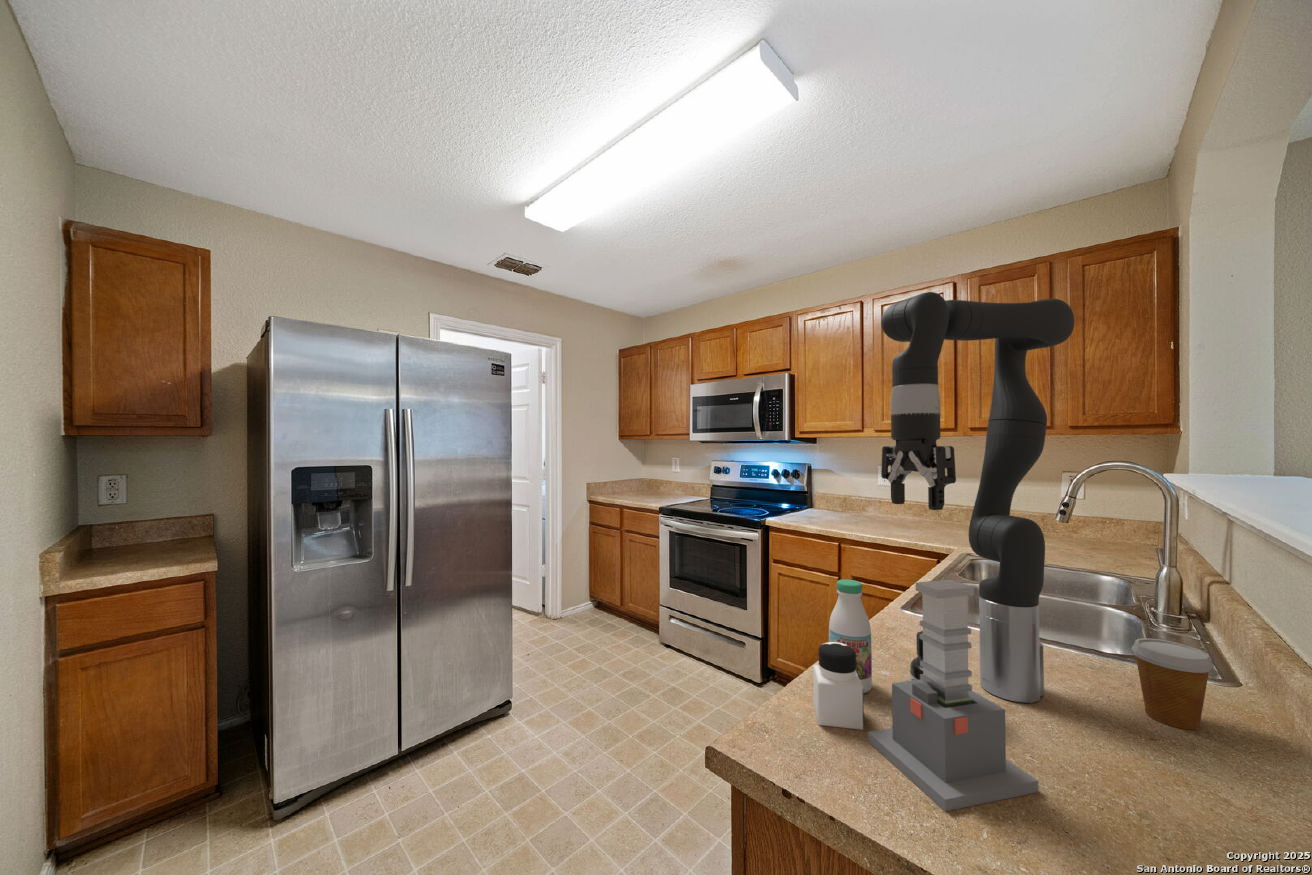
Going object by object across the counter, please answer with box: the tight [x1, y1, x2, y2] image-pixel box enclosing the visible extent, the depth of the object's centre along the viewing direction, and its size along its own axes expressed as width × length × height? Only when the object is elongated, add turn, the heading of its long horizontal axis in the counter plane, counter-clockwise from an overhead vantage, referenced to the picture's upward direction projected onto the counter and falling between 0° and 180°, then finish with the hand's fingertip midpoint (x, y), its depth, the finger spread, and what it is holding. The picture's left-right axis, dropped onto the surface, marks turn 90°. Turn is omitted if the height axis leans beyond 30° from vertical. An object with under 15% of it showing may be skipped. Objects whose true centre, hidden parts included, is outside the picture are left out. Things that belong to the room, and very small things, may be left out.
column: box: [915, 579, 975, 708], centre depth 71 cm, size 6×5×18 cm
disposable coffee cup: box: [1131, 637, 1214, 730], centre depth 82 cm, size 10×10×12 cm
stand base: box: [867, 679, 1039, 812], centre depth 71 cm, size 15×15×12 cm
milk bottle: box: [828, 578, 873, 694], centre depth 94 cm, size 8×8×20 cm
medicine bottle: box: [812, 641, 865, 731], centre depth 83 cm, size 7×7×12 cm
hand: (916, 506), depth 83 cm, fingers open, 8 cm apart
